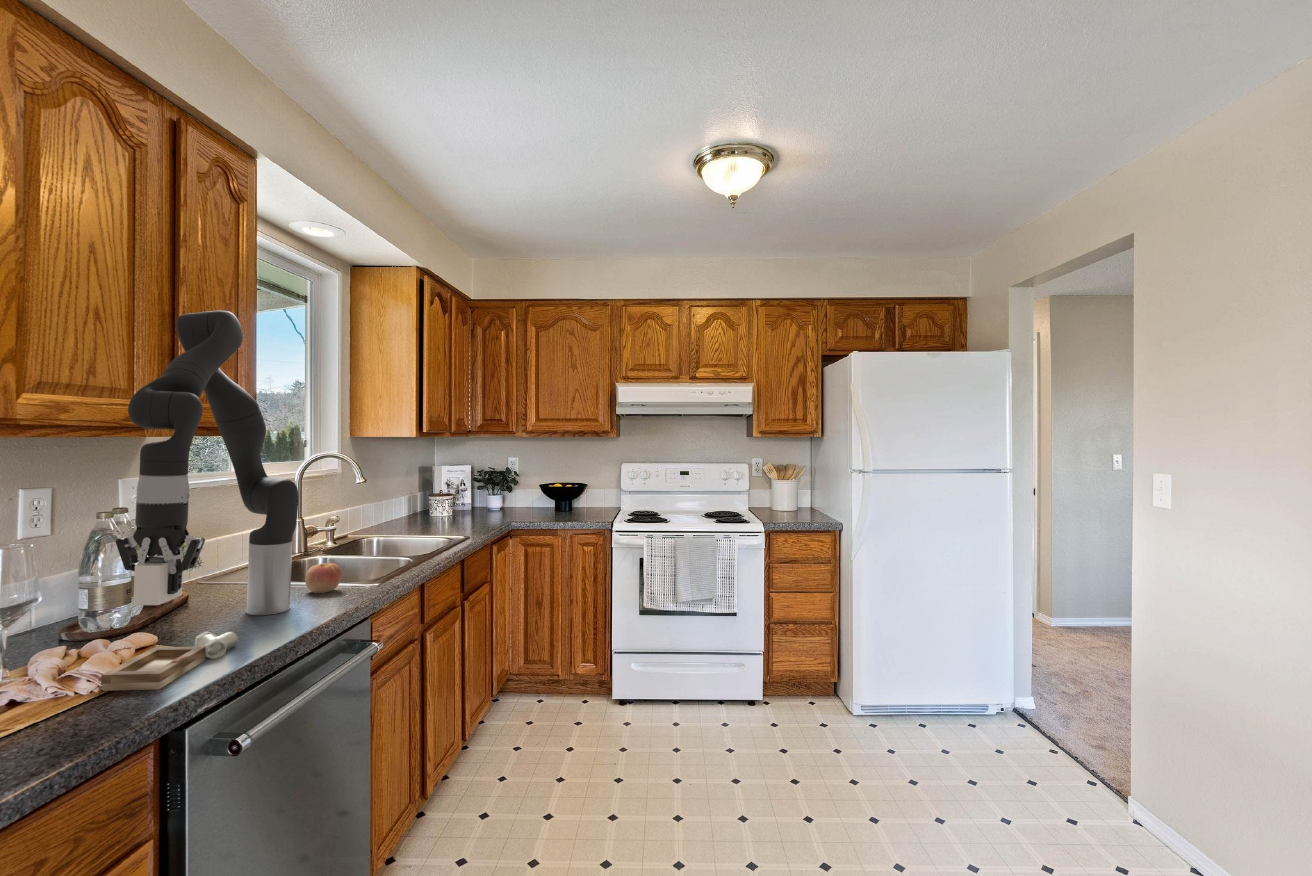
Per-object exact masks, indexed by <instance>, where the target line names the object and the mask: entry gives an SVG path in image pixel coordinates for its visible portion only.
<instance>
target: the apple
mask: <svg viewBox="0 0 1312 876" xmlns="http://www.w3.org/2000/svg"><path fill="white" fill-rule="evenodd" d="M305 573H306V574H305V586H306V588H307V589H308V590H309V591H310V592H311V593H314V594H326V593H329V592H332V591H334V590H335V589H336V588H337V587H338V586H339V584H340V582H341V579H342V570H341V567H340V566H339V565H338V564H336V563H335V562H334V563H333V562H323V563H317V564H314V565H312V566H310V568H308V570H307V571H306V572H305Z"/></svg>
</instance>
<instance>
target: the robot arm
mask: <svg viewBox="0 0 1312 876" xmlns="http://www.w3.org/2000/svg"><path fill="white" fill-rule="evenodd" d="M175 325H176V328H175V329H176V332H177V336H178V339H179V341H180V344H181V347H182V348H183V351H184V352H182V353H181V354H179V355H178V356H176V357H174V359H172V361H170V362H169V364H168V365H167V367H166V368H165V369H164V371H163V372H162V373H161V375H160V376H159V377H157V378H155V379H153V380H152V381H150V382H149V383H147V384H145V385H144V386H142V387H141V388H140V389H138V390H137V391H136V392H135V393H134V394H133V396H132V397H131V399H130V401H129V403H128V406H127V414H128V416H129V419H130V420H131V422H132V423H133V424H134V425H136V426H137V427H140V428H143V429H149V430H174V432H173V434H172V435H171V437H170V438H168V439H166V440H161V441H154V442H147V443H145V444H144V445H142V446H141V448H140V451H139V475H138V482H137V485H136V496H135V499H136V500H135V501H136V502H135V519H134V520H135V523H134V524H135V526H136V527H135V528H136V529H135V531H134V533H133V535H130V536H125V537H121V538H117V539H116V540H115V544H116V547H117V551H118V553H119V556H120V560H121V562H122V565H123V568H124V570H125V571H132V572H134V573H135V565H139V564H142V563H147V562H149V558H151V557H155V556H163V557H164V561H165V562H166V563H168V569H169V573H170V574H168V589H167V593H168V594H174V593H177V592H178V590H179V589H181V586H182V587H183V585H182V584H181V583H182V572H183V573H184V571H187V570H189V569H190V570H191V569H193V568H194V567H195V566H196V564H197V561H198V559H199V556H200V554H201V551H202V549H203V546H204V544H205V541H206V539H205V538H204V537H196V536H193V535H190V532H189V531H188V528H187V526H188V522H189V502H190V501H189V499H190V484H189V483H190V482H189V462H190V461H189V458H190V451H191V446H192V444H193V440H194V436H195V435H196V432H197V430H198V427H199V425H200V422H201V419H202V416H203V411H204V409H203V403H202V400H201V399H200V398H201V396H202V394H203V392H204V394H205V396H206V398H207V402H208V404H209V407H210V410H211V412H212V416H213V418H214V420H215V424H216V426H217V429H218V431H219V433H220V436H221V438H222V439H223V442H224V444H225V448H226V451H227V453H228V456H229V458H230V461H231V465H232V467H233V471H234V474H235V478H236V481H237V486H238V489H239V493H240V497H241V500H242V502H243V505H244V507H245V508H246V509H247V510H248V511H249V512H251V513H253V514H255V515H258V514H259V515H263V516H264V515H265V522H264V525H262V526H261V527H259V528H256V529H253V530H252V531H250V533H249V535H248V536H249V537H248V559H247V561H248V563H247V584H246V585H247V588H246V592H247V593H246V614H248V615H250V616H267V615H268V616H269V615H277V614H280V613H284V612H287V611H289V610H290V609H291V608H290V606H291V589H292V587H291V584H292V583H291V582H292V578H291V577H292V563H293V562H292V559H293V558H292V557H293V536H294V532H295V531H296V528H297V523H298V522H297V521H298V520H297V519H298V513H299V510H298V509H299V498H300V496H299V494H300V493H299V489H298V486H297V484H296V483H295V482H294V481H292V480H291V479H288V478H280V477H278V478H277V477H276V478H275V477H269V476H268V475H267V473H266V470H265V468H264V465H263V462H262V449H263V445H264V443H265V438H266V434H267V427H266V423H265V419H264V416H263V414H262V411H261V409H260V406H259V403H258V401H257V400H256V399H255V398H254V397H253V396H252V395H251V394H250V393H249V392H248V391H247V390H246V389H244V388H242V386H240V385H239V384H237V383H236V382H235V381H233V380H232V379H231V378H230V377H229V376H227V375H226V374H225V373H224V371H222V370H221V368H220V367H222V365H223V364H224V363H225V362H227V361H228V360H229V359H230V358H231V357H232V356H233V355H234V354H235V353H236V352H237V351H238V350H239V349H240V347H241V346H242V343H243V339H244V333H243V329H242V326H241V322H240V321H239V319H238V317H237V316H236V315H235V314H234V313H233V312H231V311H228V310H222V309H221V310H210V311H200V312H190V313H183V314H180V315H179V316H178V317H177V319H176V323H175ZM184 544H185V548H186V552H185V554H183V550H182V546H183V545H184ZM137 545H138V547H139V548H140V550H139V553H137V549H136V546H137ZM182 558H183V561H182Z"/></svg>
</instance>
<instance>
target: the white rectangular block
mask: <svg viewBox="0 0 1312 876" xmlns="http://www.w3.org/2000/svg"><path fill="white" fill-rule="evenodd" d="M183 558H184V557H183ZM183 558H182V561H183ZM168 574H170V573H169V569H168V563H166V562H165V561H164V557H163V556H161V555H157V556H155V557H151V558H149V562H147V563H142V564H139V565H135V572H134V575H133V576H134V579H133V599H132V601H133V604H132V605H133V606H159V605H162V604H165V603H167V602H169V601H172V600H174V599H177V598H179V597H182V596H183V585H184V584H183V583H184V582H183V580H184V571H183V572H182V583H181V584H182V586H181V589H179V590H178V592H177V593H174V594H168V593H167V589H168Z"/></svg>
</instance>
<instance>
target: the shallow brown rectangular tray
mask: <svg viewBox="0 0 1312 876" xmlns="http://www.w3.org/2000/svg"><path fill="white" fill-rule="evenodd" d="M205 648H206V647H195V646H165V647H164V646H160V647H156V646H155V647H152V648H150V649H148V650H146V651H144V652H143V653H141V654H138V655H136V656H135V657H133V658H131V659H129V660H127V661H126V662H123V663H121V664H119V665H118V666H115V667H114V668H112V669H110V670H108V671H106V672H105V673H102V674H101V675H100V690H101V689H102V690H103V691H104V692H105V691H106V692H107V691H143V690H146V691H147V690H160V689H162V688H163V687H165V686H167V685H168V684H170V683H171V682H174V681H175V680H177V679H178V678H179V677H182V676H183V675H184V674H186V673H187V672H189V671H190V670H192V669H193V668H195V667H197V666H198V665H200V664H201V663H203V662H205V661H206V657H205ZM101 685H102V686H101ZM101 687H102V688H101ZM103 691H102V692H103Z"/></svg>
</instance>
